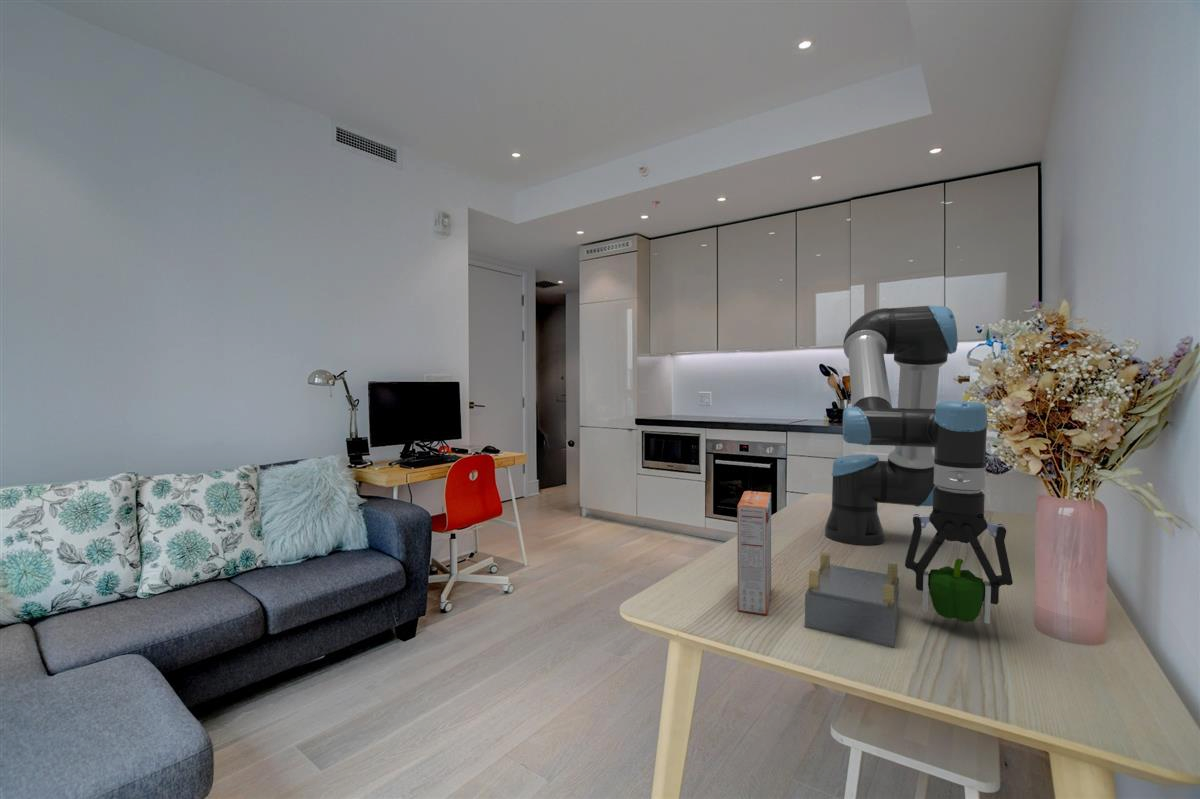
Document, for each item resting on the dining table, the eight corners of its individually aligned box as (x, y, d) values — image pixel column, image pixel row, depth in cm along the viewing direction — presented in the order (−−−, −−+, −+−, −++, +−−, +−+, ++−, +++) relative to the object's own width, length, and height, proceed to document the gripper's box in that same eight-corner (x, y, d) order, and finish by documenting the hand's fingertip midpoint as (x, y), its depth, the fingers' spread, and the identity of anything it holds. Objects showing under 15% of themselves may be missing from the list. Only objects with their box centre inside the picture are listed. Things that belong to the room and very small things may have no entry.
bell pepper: (964, 631, 89) (966, 573, 88) (918, 611, 96) (919, 557, 96) (995, 621, 92) (997, 565, 91) (948, 603, 100) (949, 551, 99)
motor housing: (824, 588, 113) (824, 545, 112) (899, 602, 105) (900, 557, 105) (804, 626, 95) (805, 576, 95) (893, 647, 87) (894, 592, 87)
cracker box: (742, 585, 114) (743, 489, 114) (771, 589, 112) (772, 491, 111) (734, 611, 101) (735, 503, 100) (767, 616, 99) (769, 506, 98)
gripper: (888, 486, 95) (886, 608, 97) (1039, 500, 84) (1034, 638, 85) (891, 478, 102) (888, 593, 103) (1031, 491, 91) (1027, 620, 92)
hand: (954, 614), depth 94 cm, fingers closed on bell pepper, 8 cm apart
